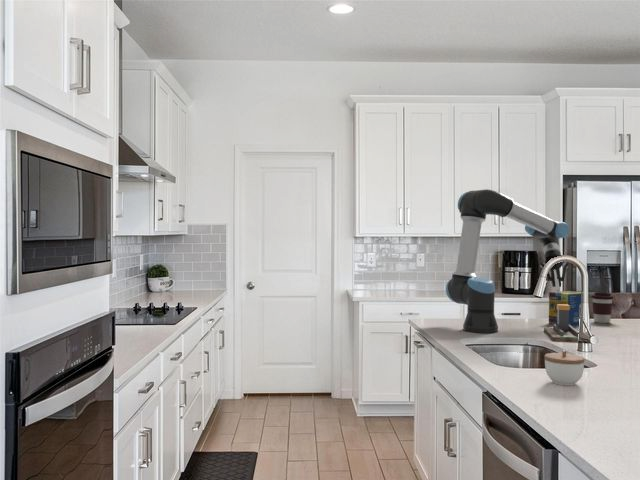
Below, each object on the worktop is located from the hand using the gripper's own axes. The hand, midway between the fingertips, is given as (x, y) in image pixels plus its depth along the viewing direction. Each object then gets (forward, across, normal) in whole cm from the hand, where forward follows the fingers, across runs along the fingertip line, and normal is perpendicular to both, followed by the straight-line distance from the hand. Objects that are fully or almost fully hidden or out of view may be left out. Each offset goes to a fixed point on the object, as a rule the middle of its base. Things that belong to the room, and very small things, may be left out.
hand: (557, 291), depth 269 cm
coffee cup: (-7, -25, -32) cm, 41 cm away
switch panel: (+28, 0, +4) cm, 29 cm away
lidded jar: (+88, +14, +65) cm, 110 cm away
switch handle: (+22, 0, 0) cm, 22 cm away
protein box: (+1, -7, -24) cm, 25 cm away
